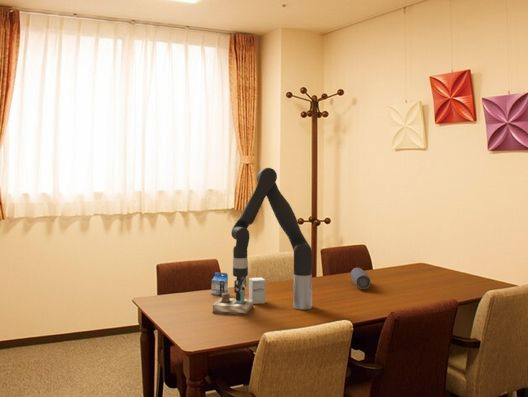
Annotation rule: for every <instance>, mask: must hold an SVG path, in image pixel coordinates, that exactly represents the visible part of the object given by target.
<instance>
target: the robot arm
mask: <svg viewBox="0 0 528 397" xmlns="http://www.w3.org/2000/svg"><path fill="white" fill-rule="evenodd" d="M277 179H278V174H277V172H276V170H275V169H273V168H272V167H265V168H263V169H261V170H260V171H258V172H257V175H256V181H257V185H256V187H255V189H254V191H253V193H252V195H251V197H250V198H249V200H248V201H247V203H246V204H245V207H244V209H243V211H242V212H241V215H240V217H239V219H237V221H236V223H235V224H234V225H233V227H232V229H231V237H232V238H233V239H234V240H235V245H234V246H233V249H232V250H233V251H232V253H233V256H232V257H233V259H232V276H233V277H235V278H236V279H235V280H234V281H233V282H234V284H233V285H234V291H233V293H235V299H236V301H240V300H241V290H244V297H245V296H246V287H247V277H248V276H249V266H248V265H249V260H248V247H249V242H250V231H249V229H248V228H249V226H250V225H253V224H254V222H255V220H256V218H257V215H258V214H259V211H260V210H261V207H262V205H263V202H264V200H265V198H267V200H268V203H269V205H270V207H271V210H272V211H273V214H274V216H275V218H276V220H277V222H278V224H279V226H280V227H281V230H283V232H284V234H285V235H286V236H287V237H288V240H289V242H290V245H291V248H292V250H293V304H292V305H293V308H294V309H296V310H312V308H313V288H312V280H313V279H312V278H313V276H312V275H313V273H312V272H313V250H312V247H311V245H310V244H309V243H308V241H307V239H306V238H305V237H304V234H303V233H302V231H301V227H300V225H299V222H298V219H297V217H296V214H295V213H294V211H293V209H292V206H291V205H290V203H289V201H288V199H286V198H285V197H284V196H283V194H282V192H281V191H280V190H279V187H278V185H277V183H276V182H277Z"/></svg>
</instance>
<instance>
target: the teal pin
mask: <svg viewBox="0 0 528 397" xmlns="http://www.w3.org/2000/svg"><path fill="white" fill-rule="evenodd" d="M244 299H245V296H244V290H241V300H240V301H236V304H244Z"/></svg>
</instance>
